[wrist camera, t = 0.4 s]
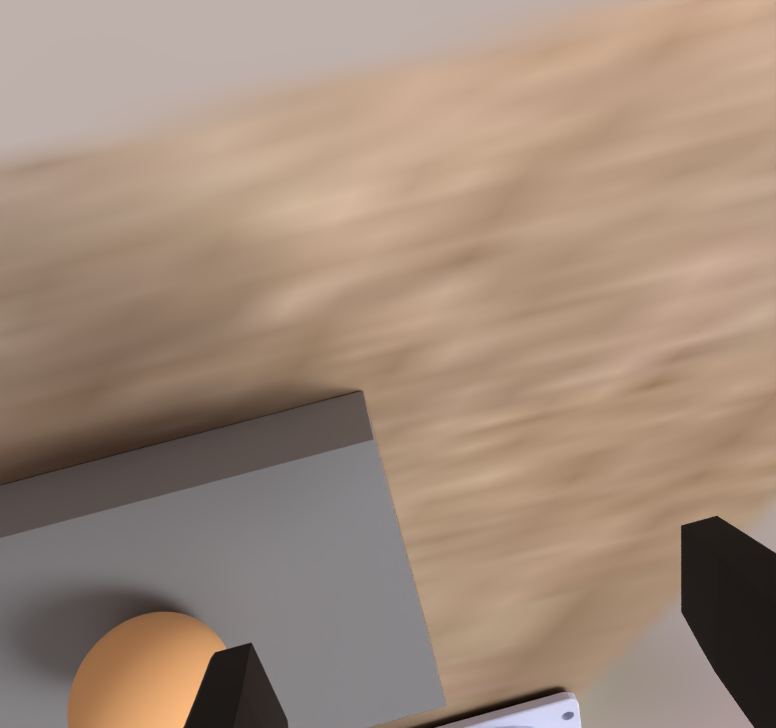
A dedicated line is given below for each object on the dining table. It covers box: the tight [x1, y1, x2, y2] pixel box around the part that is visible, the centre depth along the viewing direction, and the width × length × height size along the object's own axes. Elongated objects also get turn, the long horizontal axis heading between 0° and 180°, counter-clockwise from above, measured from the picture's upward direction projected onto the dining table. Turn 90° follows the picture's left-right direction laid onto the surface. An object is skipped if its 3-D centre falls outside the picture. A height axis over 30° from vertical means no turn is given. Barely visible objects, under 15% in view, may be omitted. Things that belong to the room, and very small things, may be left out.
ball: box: [67, 612, 227, 728], centre depth 17 cm, size 4×4×4 cm
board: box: [0, 391, 446, 728], centre depth 20 cm, size 11×22×2 cm, turn 102°
